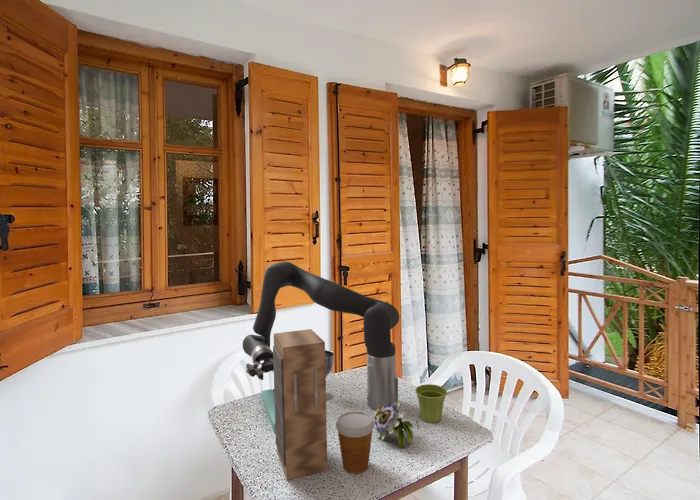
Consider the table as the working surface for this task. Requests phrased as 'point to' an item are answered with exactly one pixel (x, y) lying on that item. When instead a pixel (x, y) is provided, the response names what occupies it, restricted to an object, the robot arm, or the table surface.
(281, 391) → the tall wooden pillar block
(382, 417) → the passion flower
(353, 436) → the disposable coffee cup
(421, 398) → the plant pot
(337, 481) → the table surface
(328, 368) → the wine glass
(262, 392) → the rail
